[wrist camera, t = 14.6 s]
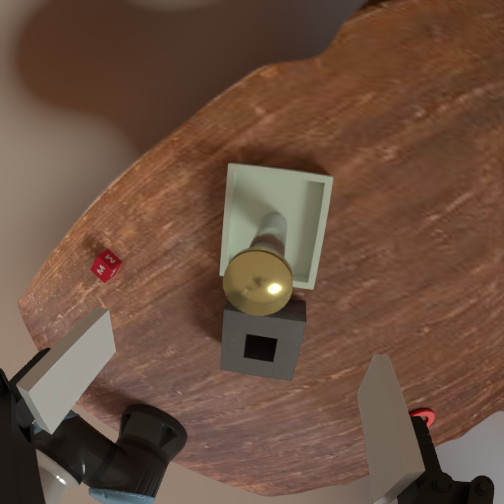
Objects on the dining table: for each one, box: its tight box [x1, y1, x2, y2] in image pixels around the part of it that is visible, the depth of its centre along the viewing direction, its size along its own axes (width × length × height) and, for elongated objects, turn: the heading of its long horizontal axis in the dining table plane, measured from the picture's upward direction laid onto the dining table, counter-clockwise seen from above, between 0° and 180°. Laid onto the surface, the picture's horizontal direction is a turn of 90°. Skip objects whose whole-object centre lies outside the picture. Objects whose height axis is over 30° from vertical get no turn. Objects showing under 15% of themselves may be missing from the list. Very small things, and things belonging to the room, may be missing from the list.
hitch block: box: [220, 300, 306, 381], centre depth 39 cm, size 10×10×5 cm
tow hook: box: [409, 409, 435, 427], centre depth 39 cm, size 8×13×9 cm
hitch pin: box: [223, 212, 293, 316], centre depth 28 cm, size 5×5×16 cm
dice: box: [91, 250, 122, 283], centre depth 40 cm, size 3×3×3 cm
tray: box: [220, 163, 333, 290], centre depth 35 cm, size 12×14×2 cm
